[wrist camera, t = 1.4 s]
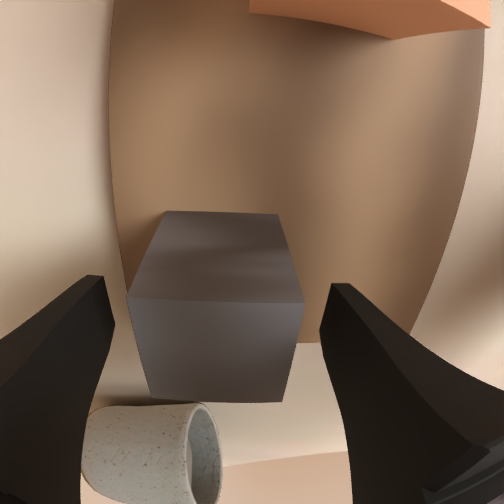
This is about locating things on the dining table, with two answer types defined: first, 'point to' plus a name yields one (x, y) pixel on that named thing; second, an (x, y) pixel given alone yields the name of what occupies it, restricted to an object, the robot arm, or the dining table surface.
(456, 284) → the dining table surface
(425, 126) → the thin brown board
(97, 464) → the ceramic mug
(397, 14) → the cube
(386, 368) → the robot arm
